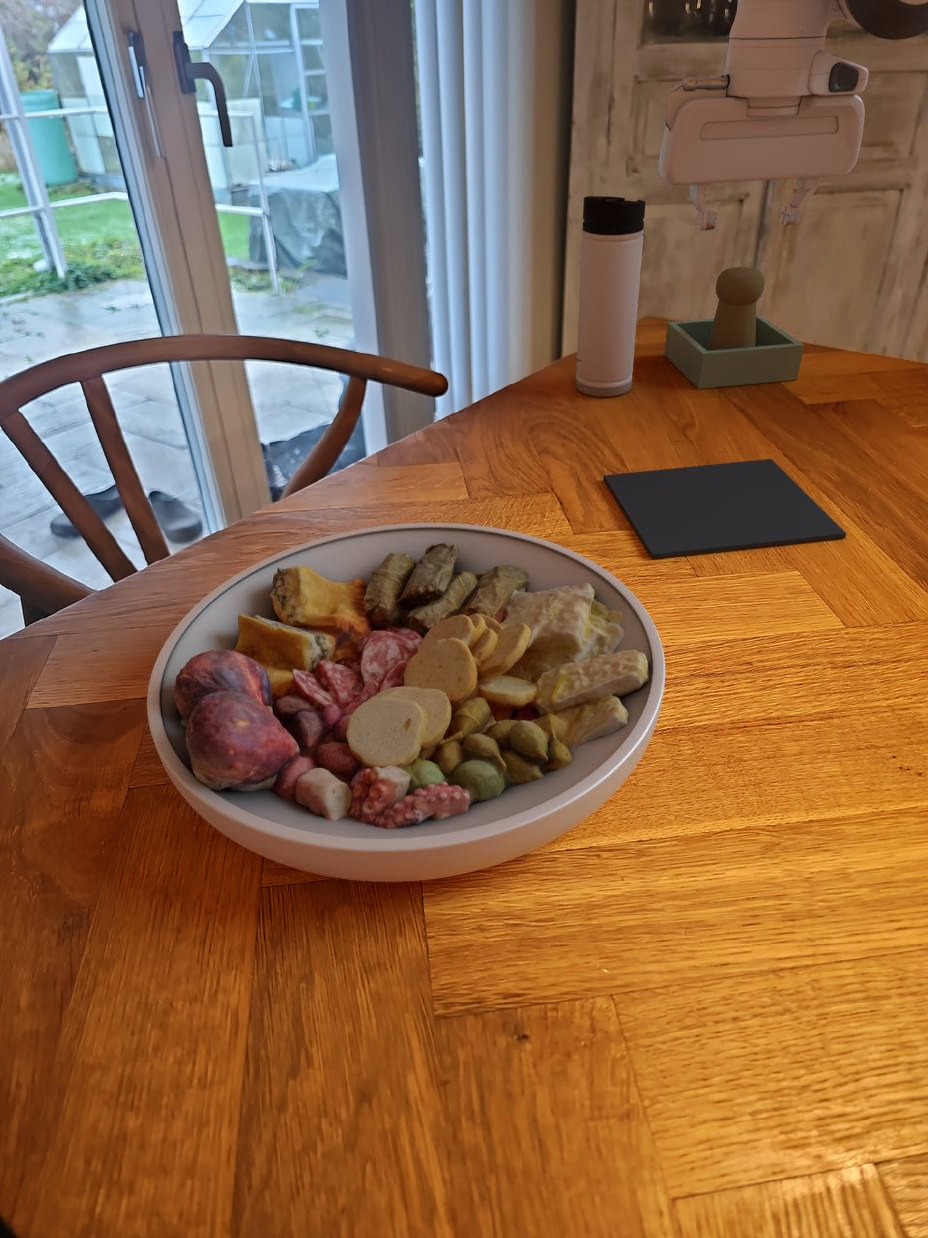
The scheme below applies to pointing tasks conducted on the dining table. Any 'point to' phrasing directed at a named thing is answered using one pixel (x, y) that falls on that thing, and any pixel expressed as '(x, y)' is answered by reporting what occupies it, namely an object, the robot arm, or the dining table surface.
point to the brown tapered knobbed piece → (736, 308)
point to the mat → (719, 509)
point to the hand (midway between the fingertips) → (747, 226)
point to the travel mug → (608, 294)
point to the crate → (732, 355)
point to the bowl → (407, 700)
